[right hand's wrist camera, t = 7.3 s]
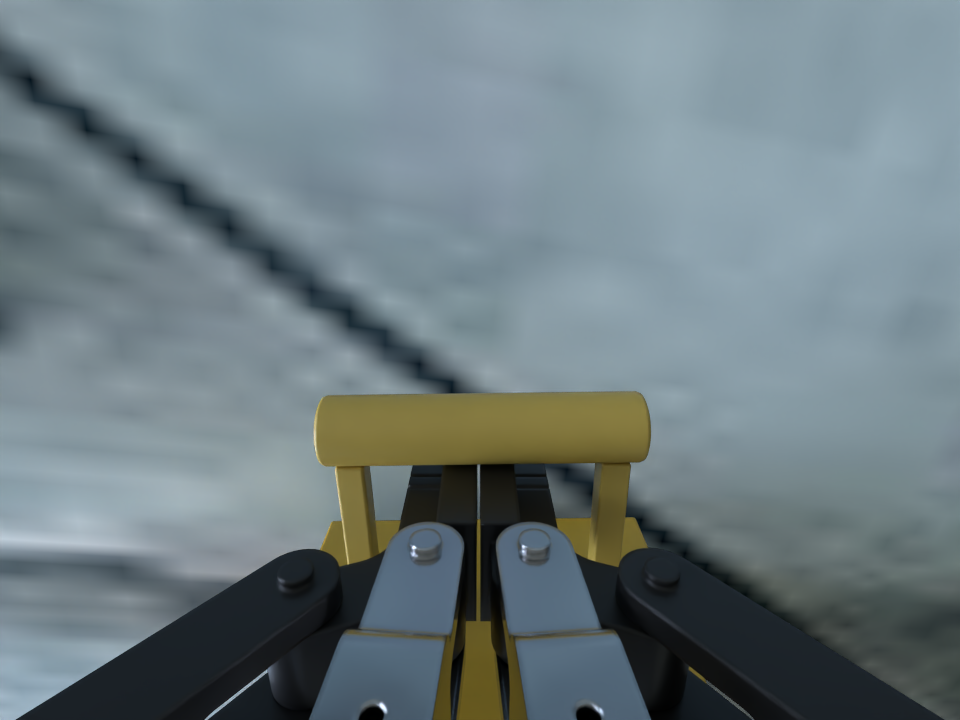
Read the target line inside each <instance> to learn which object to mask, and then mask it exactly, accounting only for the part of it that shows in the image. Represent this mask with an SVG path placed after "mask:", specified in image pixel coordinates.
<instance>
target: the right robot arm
mask: <svg viewBox="0 0 960 720" xmlns="http://www.w3.org/2000/svg"><path fill="white" fill-rule="evenodd" d="M476 607H477V465H413V467H412V471H411V477H410V480H409V485H408V489H407V494H406V498H405V503H404V507H403V512H402V516H401V521H400V525H399V530H398V532H397V533H396V534H395V535H394V536H393V537H392V538H391V539H390V541H389V543H388V545H387V548H386V549H385V550H384V551H382V552H381V553H379V554H377V555H376V556H374V557H371V558H369V559H367V560H363V561H360V562H356V563H352V564H348V565H344V566H339V564H338V562H337V560H336V559H335V558H334V557H333V556H332V555H331V554H329V553H327V552H325V551H322V550H316V549H302V550H297V551H293V552H289V553H286V554H284V555H282V556H279V557H278V558H276V559H274V560H272V561H271V562H269V563H267V564H266V565H264V566H263V567H261V568H259V569H258V570H256V571H255V572H253V573H251V574H250V575H248V576H246V577H245V578H243V579H242V580H240V581H238V582H237V583H235V584H234V585H232V586H230V587H229V588H227V589H226V590H224V591H222V592H221V593H219V594H217V595H216V596H214V597H213V598H211V599H209V600H208V601H206V602H205V603H203V604H201V605H200V606H198V607H197V608H195V609H193V610H192V611H190V612H188V613H187V614H185V615H184V616H182V617H180V618H179V619H177V620H176V621H174V622H172V623H171V624H169V625H168V626H166V627H164V628H163V629H161V630H159V631H158V632H156V633H155V634H153V635H151V636H150V637H148V638H147V639H145V640H143V641H142V642H140V643H139V644H137V645H135V646H134V647H132V648H130V649H129V650H127V651H126V652H124V653H122V654H121V655H119V656H118V657H116V658H114V659H113V660H111V661H110V662H108V663H106V664H105V665H103V666H101V667H100V668H98V669H97V670H95V671H93V672H92V673H90V674H89V675H87V676H85V677H84V678H82V679H81V680H79V681H77V682H76V683H74V684H72V685H71V686H69V687H68V688H66V689H64V690H63V691H61V692H60V693H58V694H56V695H55V696H53V697H52V698H50V699H48V700H47V701H45V702H43V703H42V704H40V705H39V706H37V707H35V708H34V709H32V710H31V711H29V712H27V713H26V714H24V715H23V716H21V717H19V718H18V719H16V720H205V718H206V717H207V716H208V715H209V714H211V713H212V712H213V711H214V710H215V709H217V708H218V707H219V706H220V705H222V704H223V703H224V702H226V701H227V700H228V699H229V698H231V697H232V696H233V695H235V694H236V693H237V692H238V691H240V690H241V689H242V688H243V687H245V686H246V685H247V684H249V683H250V682H251V681H252V680H254V679H255V678H256V677H258V676H259V675H260V674H261V673H263V672H264V671H265V670H266V669H267V670H268V673H266V674H265V675H264V676H263V677H261V678H260V679H259V680H258V681H256V682H255V683H254V684H252V685H251V686H250V687H249V688H247V689H246V690H245V691H244V692H242V693H241V694H240V695H239V696H237V697H236V698H235V699H233V700H232V701H231V702H230V703H228V704H227V705H226V706H225V707H223V708H222V709H221V710H220V711H218V712H217V713H216V714H214V715H213V716H212V717H211V718H209V719H208V720H459V715H460V706H461V698H462V689H463V680H464V671H465V662H466V648H465V634H466V621H476ZM480 621H491V642H492V645H493V648H494V662H495V671H496V680H497V689H498V698H499V707H500V716H501V720H752V719H751V718H749V717H748V716H747V715H746V714H744V713H743V712H742V711H740V710H739V709H738V708H737V707H735V706H734V705H733V704H732V703H730V702H729V701H728V700H727V699H725V698H724V697H723V696H721V695H720V694H719V693H718V692H716V691H715V690H714V689H713V688H711V687H710V686H709V685H708V684H706V683H705V682H704V681H702V680H701V679H700V678H699V677H697V676H696V675H695V674H694V673H692V672H691V671H690V670H689V666H690V667H691V668H692V669H694V670H695V671H696V672H697V673H699V674H700V675H701V676H702V677H704V678H705V679H706V680H708V681H709V682H710V683H711V684H713V685H714V686H715V687H717V688H718V689H719V690H720V691H722V692H723V693H724V694H725V695H727V696H728V697H729V698H731V699H732V700H733V701H734V702H736V703H737V704H738V705H739V706H741V707H742V708H743V709H744V710H746V711H747V712H748V713H749V714H750V715H751V716H752V717H753V718H754V720H944V719H942V718H941V717H939V716H937V715H936V714H934V713H933V712H931V711H929V710H928V709H926V708H925V707H923V706H921V705H920V704H918V703H917V702H915V701H913V700H912V699H910V698H908V697H907V696H905V695H904V694H902V693H900V692H899V691H897V690H896V689H894V688H892V687H891V686H889V685H888V684H886V683H884V682H883V681H881V680H879V679H878V678H876V677H875V676H873V675H871V674H870V673H868V672H867V671H865V670H863V669H862V668H860V667H859V666H857V665H855V664H854V663H852V662H850V661H849V660H847V659H846V658H844V657H842V656H841V655H839V654H838V653H836V652H834V651H833V650H831V649H830V648H828V647H826V646H825V645H823V644H821V643H820V642H818V641H817V640H815V639H813V638H812V637H810V636H809V635H807V634H805V633H804V632H802V631H801V630H799V629H797V628H796V627H794V626H792V625H791V624H789V623H788V622H786V621H784V620H783V619H781V618H780V617H778V616H776V615H775V614H773V613H772V612H770V611H768V610H767V609H765V608H763V607H762V606H760V605H759V604H757V603H755V602H754V601H752V600H751V599H749V598H747V597H746V596H744V595H742V594H741V593H739V592H738V591H736V590H734V589H733V588H731V587H730V586H728V585H726V584H725V583H723V582H722V581H720V580H718V579H717V578H715V577H713V576H712V575H710V574H709V573H707V572H705V571H704V570H702V569H701V568H699V567H697V566H696V565H694V564H693V563H691V562H689V561H688V560H686V559H684V558H683V557H681V556H679V555H677V554H675V553H672V552H669V551H666V550H662V549H657V548H641V549H636V550H633V551H631V552H629V553H627V554H626V555H625V556H623V558H622V559H621V561H620V563H619V567H616V566H612V565H608V564H604V563H600V562H596V561H592V560H589V559H587V558H584V557H582V556H580V555H579V554H577V553H575V551H574V548H573V545H572V543H571V541H570V539H569V538H568V537H567V536H566V535H565V534H564V533H563V532H562V531H560V530H559V529H558V527H557V522H556V518H555V513H554V508H553V503H552V499H551V494H550V489H549V485H548V480H547V477H546V471H545V466H544V464H480Z"/></svg>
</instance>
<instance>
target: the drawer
mask: <svg viewBox="0 0 960 720" xmlns="http://www.w3.org/2000/svg"><path fill="white" fill-rule="evenodd" d="M650 441H651V422H650V415H649V410H648V406H647V403H646V401H645V398H644V397H643V395H642V394H641V393H639V392H636V391H615V392H539V393H463V394H387V395H327V396H325V397H323V398H322V399H321V400H320V402H319V404H318V407H317V411H316V415H315V420H314V446H315V452H316V456H317V459H318V461H319V463H320V464H322V465H324V466H336V468H335V474H336V481H337V489H338V496H339V504H340V511H341V518H342V521H333V522H331V524H330V527H329V529H328V532H327V534H326V537H325V539H324V542H323V544H322V547H321V549H320V550H322V551H325V552H327V553H329V554H331V555H332V556H333V557H334V558H335V559H336V560H337V562H338V564H339V566H344V565H348V564H352V563H356V562H360V561H363V560H367V559H369V558H371V557H374V556H376V555H377V554H379V553H381V552H382V551H384V550H385V549H386V548H387V545H388V543H389V541H390V539H391V538H392V537H393V536H394V535H395V534H396V533H397V532H398V530H399V525H400V521H401V520H386V521H376V520H375V511H374V502H373V492H372V483H371V473H370V466H399V465H477V464H554V463H595V473H594V485H593V498H592V510H591V518H556V522H557V527H558V529H559V530H560V531H562V532H563V533H564V534H565V535H566V536H567V537H568V538H569V539H570V541H571V543H572V545H573V548H574V551H575V553H577V554H579V555H580V556H582V557H584V558H587V559H589V560H592V561H596V562H600V563H604V564H608V565H612V566H616V567H619V563H620V561H621V559H622V558H623V556H625V555H626V554H627V553H629V552H631V551H633V550H636V549H641V548H648V547H647V544H646V542H645V540H644V537H643V535H642V533H641V530H640V528H639V526H638V523H637V521H636V519H635V518H633V517H625V515H626V506H627V497H628V488H629V478H630V469H631V465H630V463H631V462H641V461H643V460H645V459H646V457H647V455H648V452H649V447H650ZM465 648H466V662H465V671H464V680H463V689H462V698H461V706H460V715H459V720H501V716H500V707H499V698H498V689H497V680H496V671H495V662H494V648H493V645H492V642H491V621H480V519H477V607H476V621H466V634H465ZM689 670H690V671H691V672H692V673H694V674H695V675H696V676H697V677H699V678H700V679H701V680H702V681H704V682H705V683H706V680H705V678H704V677H702V676H701V675H700V674H699V673H697V672H696V671H695V670H694V669H692V668H691V667H690V666H689ZM706 684H707V683H706Z"/></svg>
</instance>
